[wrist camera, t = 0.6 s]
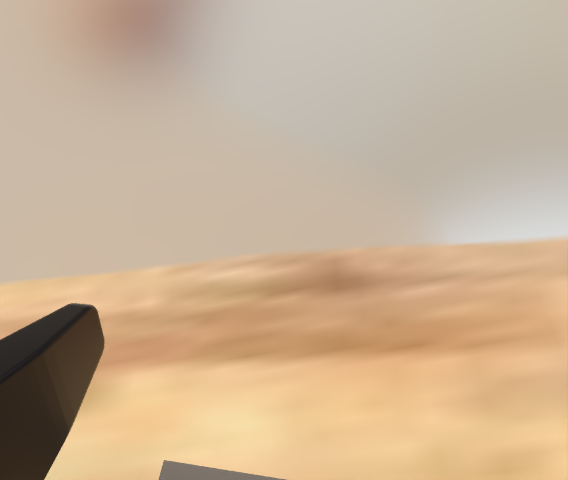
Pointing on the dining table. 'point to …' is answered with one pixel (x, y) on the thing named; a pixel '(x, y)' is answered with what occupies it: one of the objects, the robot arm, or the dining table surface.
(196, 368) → the dining table surface
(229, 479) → the scraper
